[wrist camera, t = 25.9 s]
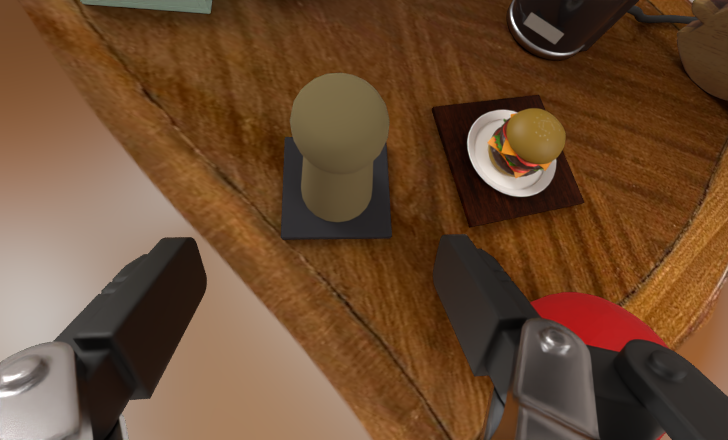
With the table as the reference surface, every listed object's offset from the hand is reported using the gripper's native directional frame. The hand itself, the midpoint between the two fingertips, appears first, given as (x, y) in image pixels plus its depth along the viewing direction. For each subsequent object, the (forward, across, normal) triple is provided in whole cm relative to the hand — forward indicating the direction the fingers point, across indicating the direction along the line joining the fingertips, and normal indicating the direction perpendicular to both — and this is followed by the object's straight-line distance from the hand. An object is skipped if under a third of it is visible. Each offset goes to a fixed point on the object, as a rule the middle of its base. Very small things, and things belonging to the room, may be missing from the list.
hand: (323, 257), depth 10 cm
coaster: (+15, -1, +4) cm, 16 cm away
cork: (+15, -1, +4) cm, 15 cm away
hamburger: (+18, -17, +2) cm, 25 cm away
